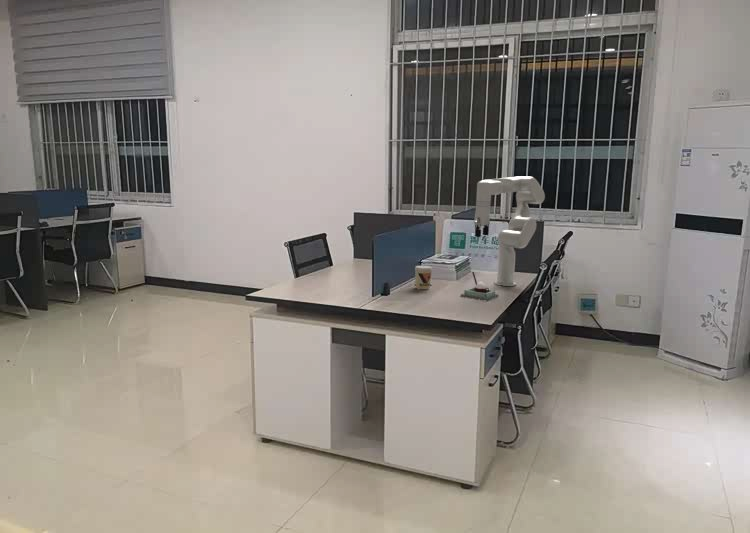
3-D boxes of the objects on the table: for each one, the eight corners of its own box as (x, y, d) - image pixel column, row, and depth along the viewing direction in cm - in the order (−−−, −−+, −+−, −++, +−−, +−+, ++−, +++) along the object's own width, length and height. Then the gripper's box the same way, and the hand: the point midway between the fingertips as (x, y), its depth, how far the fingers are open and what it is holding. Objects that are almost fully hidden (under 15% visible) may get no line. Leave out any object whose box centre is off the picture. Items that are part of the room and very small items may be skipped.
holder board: (472, 292, 313) (472, 286, 313) (498, 296, 305) (498, 290, 304) (460, 296, 302) (460, 290, 301) (487, 301, 293) (487, 294, 293)
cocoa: (488, 294, 305) (490, 271, 303) (488, 296, 299) (490, 273, 297) (470, 292, 307) (472, 270, 305) (469, 294, 301) (472, 271, 299)
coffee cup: (417, 290, 314) (418, 268, 312) (411, 286, 323) (412, 265, 321) (433, 289, 317) (434, 268, 314) (427, 286, 325) (428, 265, 323)
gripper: (483, 203, 320) (482, 233, 323) (469, 204, 306) (468, 237, 310) (496, 203, 316) (494, 235, 319) (482, 205, 302) (481, 238, 305)
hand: (481, 236), depth 314 cm, fingers open, 9 cm apart
